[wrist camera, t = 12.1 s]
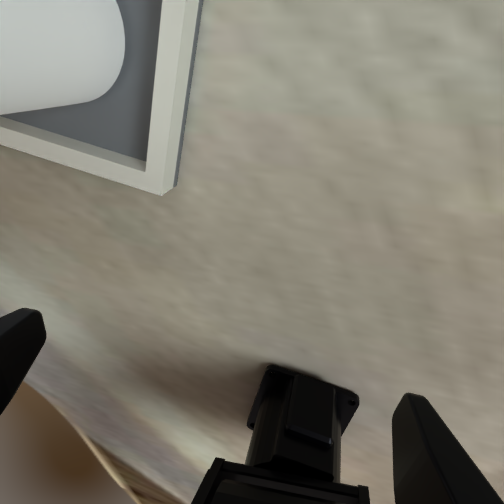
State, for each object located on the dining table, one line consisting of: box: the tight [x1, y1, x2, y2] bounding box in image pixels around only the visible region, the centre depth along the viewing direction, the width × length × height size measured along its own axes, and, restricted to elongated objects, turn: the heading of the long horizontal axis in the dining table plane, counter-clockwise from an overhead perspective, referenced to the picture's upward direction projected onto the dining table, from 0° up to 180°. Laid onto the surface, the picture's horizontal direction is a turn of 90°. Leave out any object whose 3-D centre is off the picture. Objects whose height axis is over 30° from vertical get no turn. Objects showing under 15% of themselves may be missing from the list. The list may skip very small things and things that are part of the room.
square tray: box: [0, 0, 203, 196], centre depth 18 cm, size 13×13×2 cm
